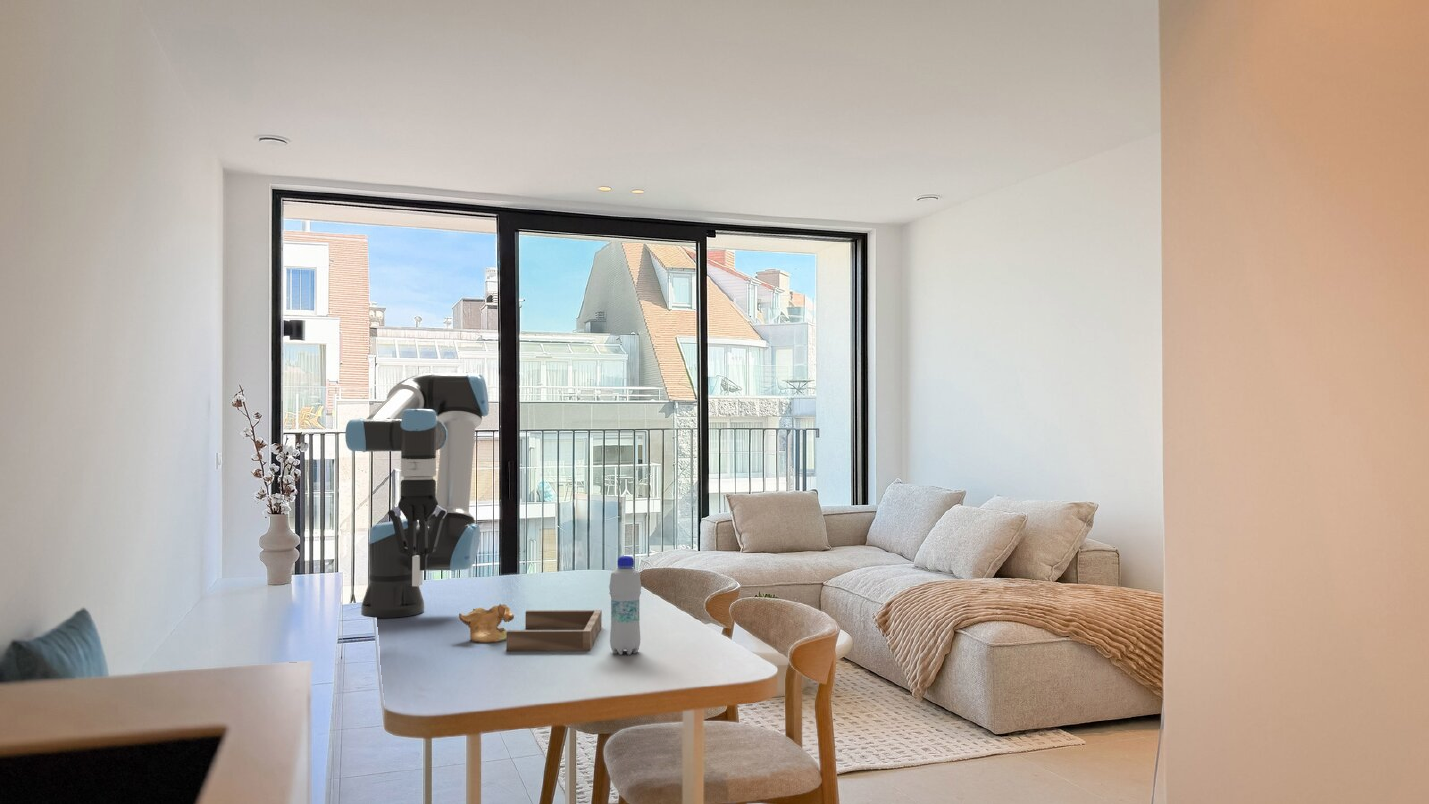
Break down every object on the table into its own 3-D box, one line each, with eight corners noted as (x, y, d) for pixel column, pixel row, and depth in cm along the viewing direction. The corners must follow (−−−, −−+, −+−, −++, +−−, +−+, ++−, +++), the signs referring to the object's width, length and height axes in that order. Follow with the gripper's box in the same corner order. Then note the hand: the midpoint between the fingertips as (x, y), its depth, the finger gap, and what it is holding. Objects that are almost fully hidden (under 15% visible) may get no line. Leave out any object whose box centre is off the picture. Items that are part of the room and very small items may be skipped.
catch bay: (526, 627, 229) (526, 610, 229) (601, 627, 229) (601, 610, 229) (506, 650, 205) (506, 631, 205) (590, 650, 205) (590, 631, 205)
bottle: (646, 650, 205) (646, 554, 206) (633, 657, 199) (633, 558, 200) (617, 647, 208) (617, 553, 208) (603, 654, 201) (603, 557, 202)
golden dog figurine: (509, 633, 223) (509, 596, 223) (520, 641, 214) (520, 603, 214) (455, 638, 218) (456, 600, 218) (465, 647, 209) (465, 607, 209)
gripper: (383, 479, 214) (382, 588, 213) (443, 479, 214) (442, 587, 213) (394, 477, 221) (392, 583, 220) (452, 477, 221) (451, 582, 220)
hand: (417, 585), depth 216 cm, fingers closed
